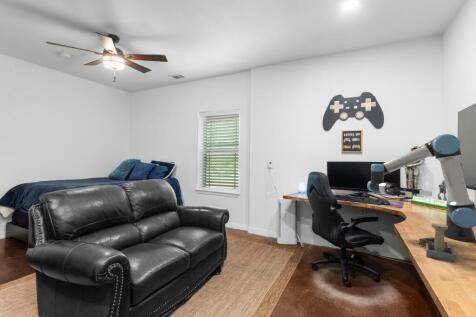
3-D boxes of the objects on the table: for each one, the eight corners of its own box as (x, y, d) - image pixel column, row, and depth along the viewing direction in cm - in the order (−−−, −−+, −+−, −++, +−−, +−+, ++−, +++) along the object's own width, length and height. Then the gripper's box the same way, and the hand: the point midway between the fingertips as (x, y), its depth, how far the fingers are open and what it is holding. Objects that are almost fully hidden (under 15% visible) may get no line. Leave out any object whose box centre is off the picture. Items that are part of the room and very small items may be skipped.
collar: (432, 242, 140) (432, 237, 140) (447, 247, 132) (447, 242, 132) (419, 243, 138) (419, 238, 138) (434, 249, 130) (434, 244, 130)
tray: (426, 249, 130) (426, 243, 130) (451, 254, 123) (452, 247, 123) (426, 256, 121) (426, 250, 120) (454, 262, 114) (454, 255, 114)
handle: (431, 250, 126) (431, 222, 126) (447, 254, 122) (447, 225, 121) (431, 253, 122) (431, 224, 122) (447, 257, 118) (447, 227, 118)
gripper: (405, 193, 154) (439, 200, 134) (372, 195, 149) (402, 202, 128) (405, 182, 154) (439, 186, 133) (372, 183, 149) (402, 188, 128)
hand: (421, 194), depth 131 cm, fingers open, 13 cm apart
